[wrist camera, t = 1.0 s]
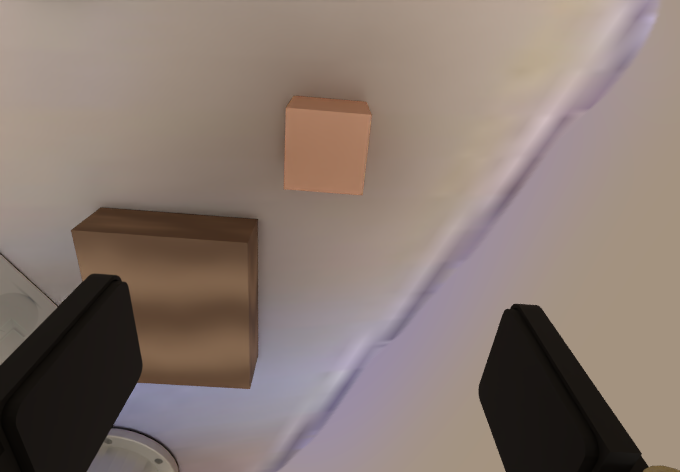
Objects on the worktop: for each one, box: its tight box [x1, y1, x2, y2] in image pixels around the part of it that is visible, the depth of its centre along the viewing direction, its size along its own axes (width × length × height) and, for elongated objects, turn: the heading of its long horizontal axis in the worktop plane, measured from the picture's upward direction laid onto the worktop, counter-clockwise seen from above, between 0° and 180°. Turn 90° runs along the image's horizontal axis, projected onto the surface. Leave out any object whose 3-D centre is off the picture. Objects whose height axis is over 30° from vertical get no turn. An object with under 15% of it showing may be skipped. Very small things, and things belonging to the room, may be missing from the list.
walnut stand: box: [71, 208, 258, 389], centre depth 33 cm, size 14×12×4 cm
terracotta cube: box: [284, 96, 372, 195], centre depth 27 cm, size 5×5×5 cm
